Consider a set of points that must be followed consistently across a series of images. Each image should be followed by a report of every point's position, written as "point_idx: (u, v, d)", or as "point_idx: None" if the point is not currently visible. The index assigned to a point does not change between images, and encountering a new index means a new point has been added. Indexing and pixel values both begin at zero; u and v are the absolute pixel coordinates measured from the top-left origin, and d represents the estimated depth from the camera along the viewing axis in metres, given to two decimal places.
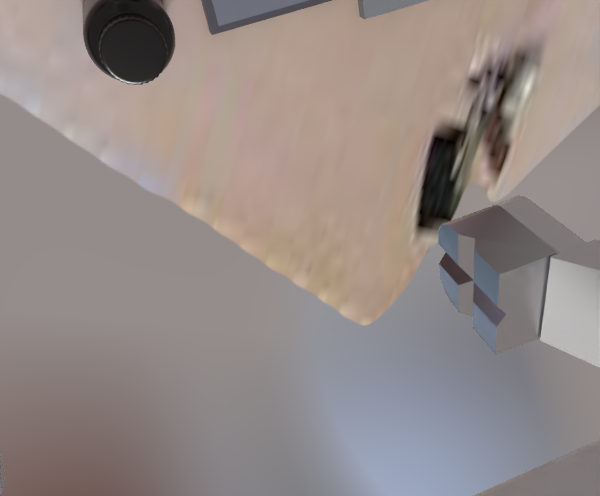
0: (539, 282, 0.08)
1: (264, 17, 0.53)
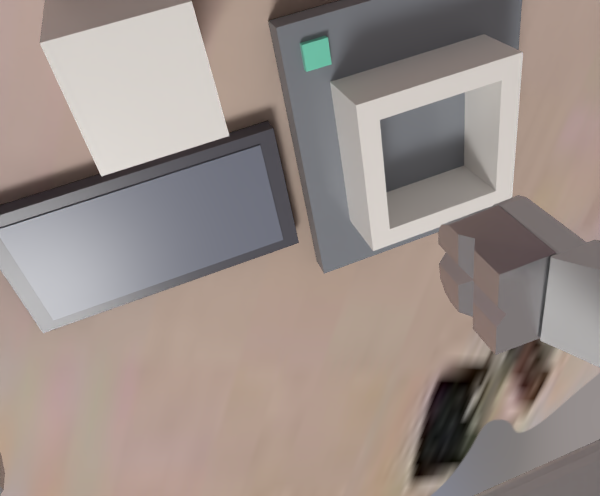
0: (539, 282, 0.08)
1: (140, 295, 0.30)
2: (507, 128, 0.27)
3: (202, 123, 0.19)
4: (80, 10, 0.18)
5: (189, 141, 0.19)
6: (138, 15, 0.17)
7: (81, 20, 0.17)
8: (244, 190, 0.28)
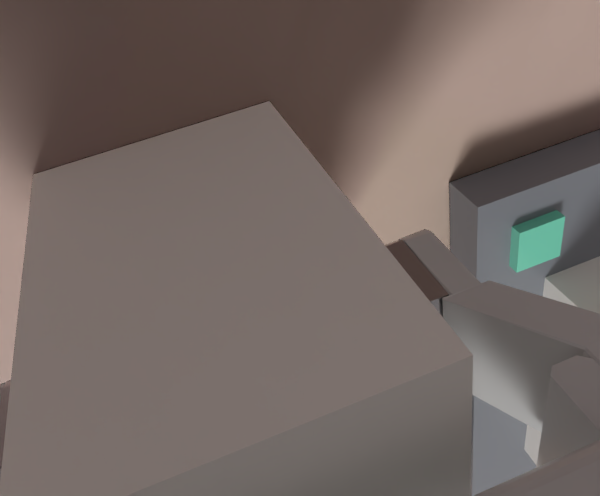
0: None
1: None
2: None
3: None
4: (116, 303, 0.07)
5: None
6: (312, 413, 0.05)
7: (125, 381, 0.06)
8: None
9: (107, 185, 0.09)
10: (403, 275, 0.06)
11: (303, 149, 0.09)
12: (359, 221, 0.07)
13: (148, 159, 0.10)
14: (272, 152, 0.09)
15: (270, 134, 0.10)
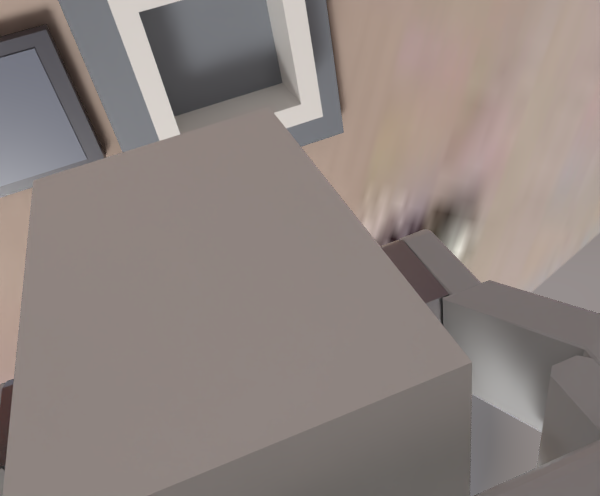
0: None
1: None
2: (297, 31, 0.25)
3: None
4: (118, 310, 0.07)
5: None
6: (313, 420, 0.05)
7: (127, 388, 0.06)
8: (28, 101, 0.27)
9: (108, 191, 0.09)
10: (403, 282, 0.06)
11: (303, 155, 0.09)
12: (359, 228, 0.07)
13: (148, 165, 0.10)
14: (272, 157, 0.09)
15: (270, 140, 0.10)
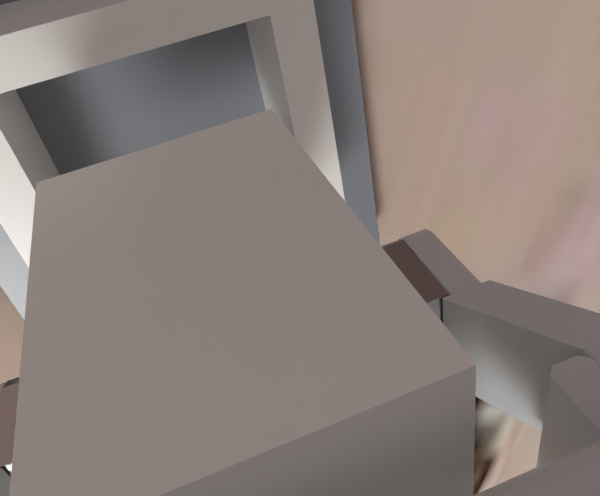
0: None
1: None
2: (310, 118, 0.14)
3: None
4: (122, 312, 0.07)
5: None
6: (318, 423, 0.05)
7: (132, 391, 0.06)
8: None
9: (111, 193, 0.09)
10: (407, 285, 0.06)
11: (305, 157, 0.09)
12: (362, 230, 0.07)
13: (151, 167, 0.10)
14: (275, 160, 0.09)
15: (272, 142, 0.10)
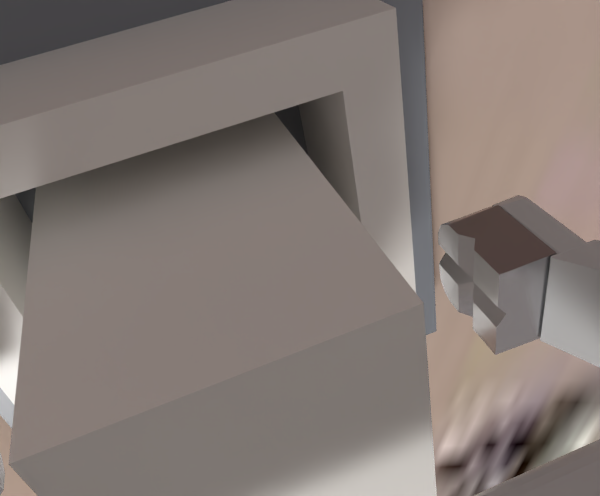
0: (538, 282, 0.08)
1: None
2: (383, 213, 0.11)
3: None
4: (115, 268, 0.08)
5: None
6: (283, 352, 0.06)
7: (122, 331, 0.07)
8: None
9: (107, 168, 0.10)
10: (369, 240, 0.07)
11: (286, 134, 0.10)
12: (333, 195, 0.08)
13: None
14: (258, 136, 0.10)
15: (257, 121, 0.10)
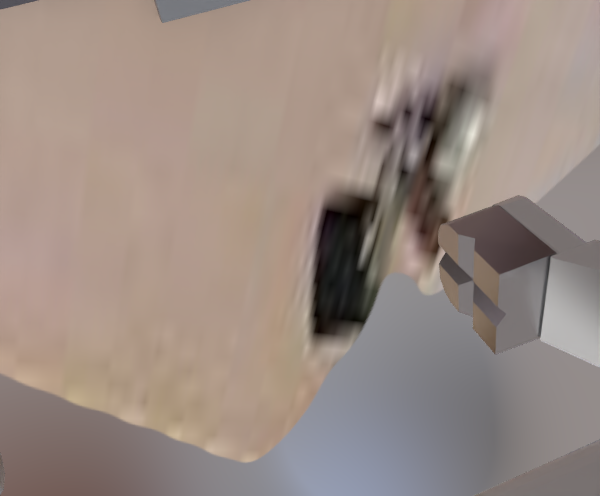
0: (539, 282, 0.08)
1: None
2: None
3: None
4: None
5: None
6: None
7: None
8: None
9: None
10: None
11: None
12: None
13: None
14: None
15: None
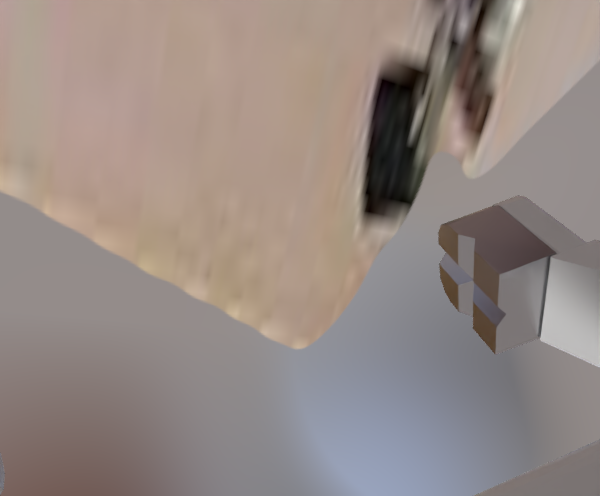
0: (538, 282, 0.08)
1: None
2: None
3: None
4: None
5: None
6: None
7: None
8: None
9: None
10: None
11: None
12: None
13: None
14: None
15: None
